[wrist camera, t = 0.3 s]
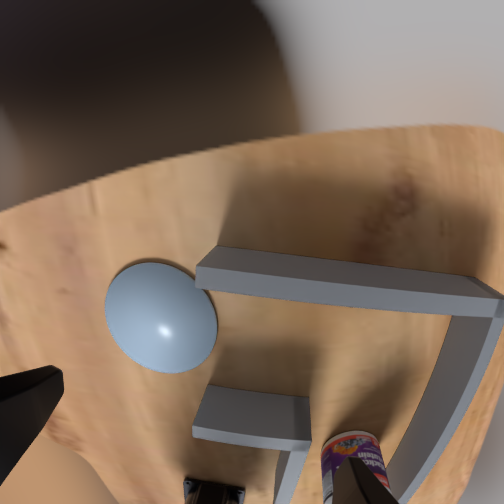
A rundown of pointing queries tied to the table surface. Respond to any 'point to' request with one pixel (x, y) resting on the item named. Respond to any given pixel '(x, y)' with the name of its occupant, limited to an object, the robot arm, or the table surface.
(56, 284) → the table surface
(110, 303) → the pad
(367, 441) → the pill bottle
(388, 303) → the channel
